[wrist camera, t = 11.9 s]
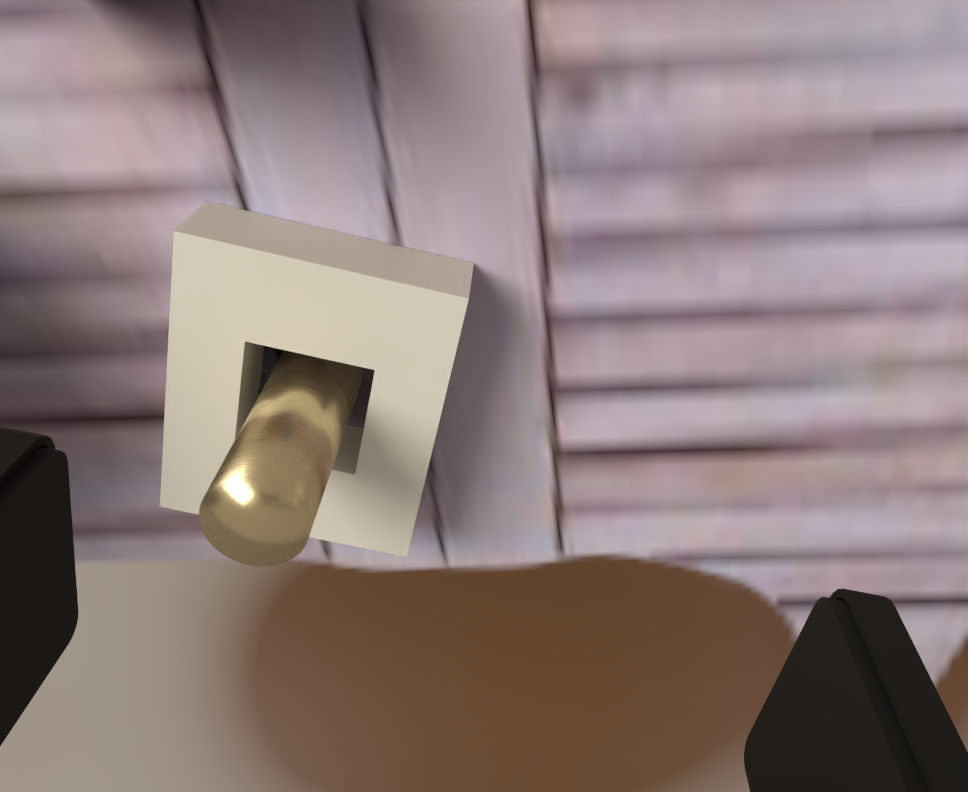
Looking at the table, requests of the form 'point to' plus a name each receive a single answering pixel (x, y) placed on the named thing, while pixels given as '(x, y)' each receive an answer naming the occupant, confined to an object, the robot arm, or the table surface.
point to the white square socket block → (315, 332)
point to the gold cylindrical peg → (281, 461)
